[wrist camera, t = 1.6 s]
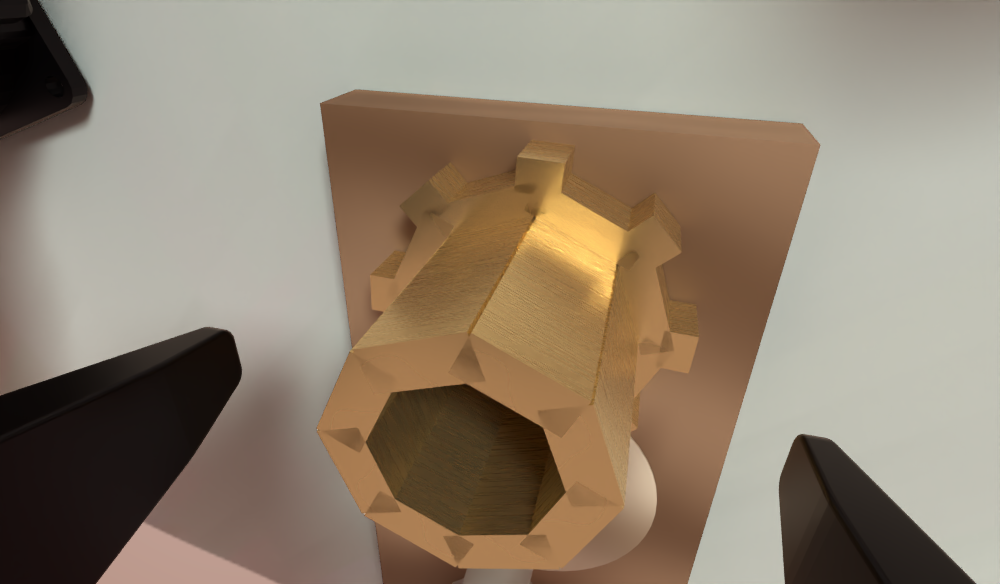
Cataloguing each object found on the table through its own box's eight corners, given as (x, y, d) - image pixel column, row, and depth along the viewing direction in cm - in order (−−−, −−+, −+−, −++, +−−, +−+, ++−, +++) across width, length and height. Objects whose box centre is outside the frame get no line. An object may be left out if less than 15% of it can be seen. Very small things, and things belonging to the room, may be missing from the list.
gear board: (647, 673, 20) (639, 896, 15) (407, 606, 22) (333, 786, 17) (802, 123, 11) (912, 254, 6) (355, 89, 12) (157, 165, 8)
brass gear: (454, 420, 14) (363, 609, 10) (355, 188, 12) (179, 304, 8) (714, 396, 12) (740, 625, 8) (656, 105, 10) (645, 202, 5)
